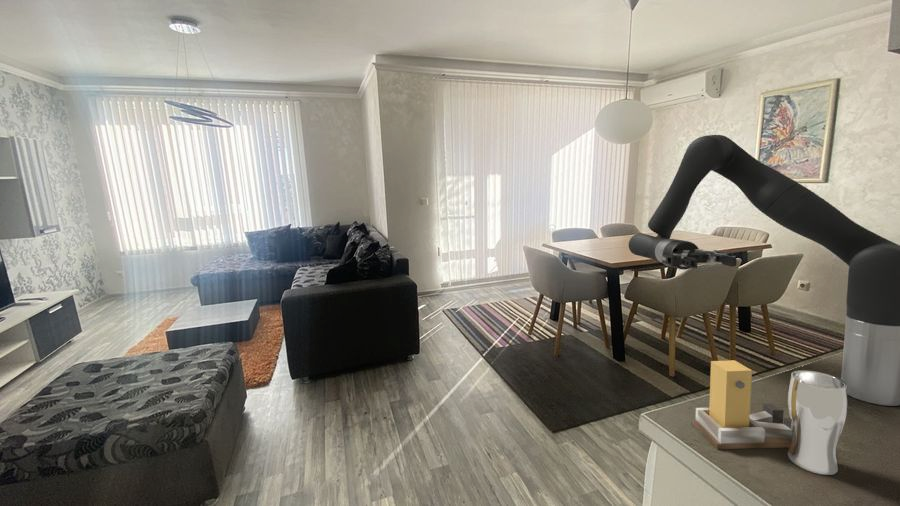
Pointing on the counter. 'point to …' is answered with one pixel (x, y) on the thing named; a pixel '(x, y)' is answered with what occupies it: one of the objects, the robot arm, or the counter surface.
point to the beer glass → (816, 420)
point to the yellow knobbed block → (730, 394)
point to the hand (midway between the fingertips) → (715, 263)
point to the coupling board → (747, 430)
